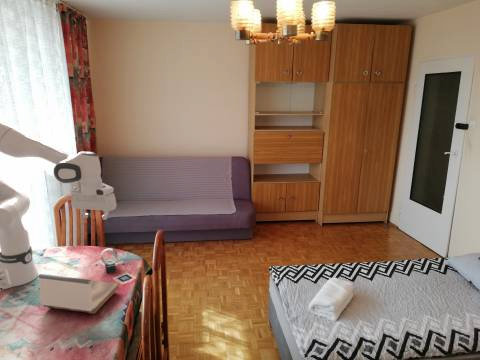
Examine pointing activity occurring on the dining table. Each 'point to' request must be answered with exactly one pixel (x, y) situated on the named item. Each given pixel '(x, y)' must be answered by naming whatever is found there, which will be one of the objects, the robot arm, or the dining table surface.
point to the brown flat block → (96, 295)
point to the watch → (110, 264)
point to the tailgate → (65, 292)
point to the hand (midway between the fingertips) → (95, 218)
